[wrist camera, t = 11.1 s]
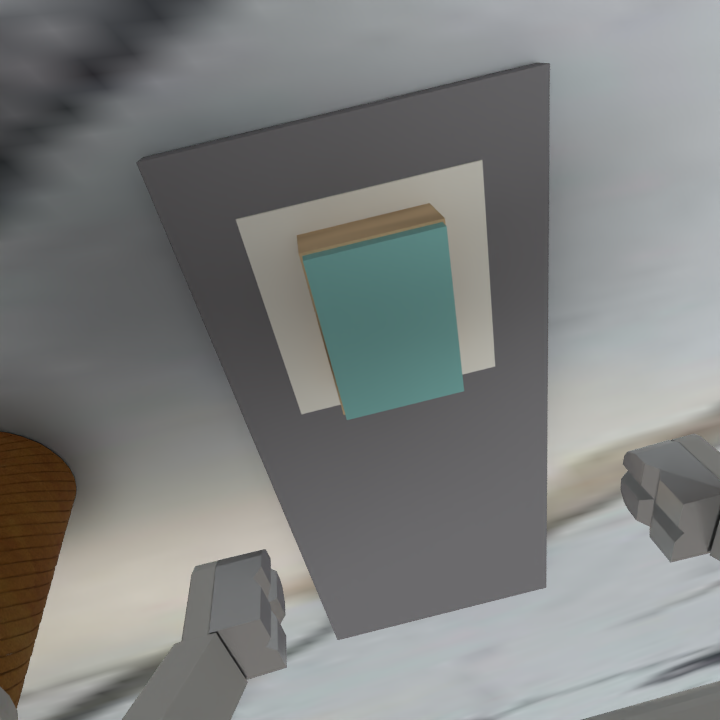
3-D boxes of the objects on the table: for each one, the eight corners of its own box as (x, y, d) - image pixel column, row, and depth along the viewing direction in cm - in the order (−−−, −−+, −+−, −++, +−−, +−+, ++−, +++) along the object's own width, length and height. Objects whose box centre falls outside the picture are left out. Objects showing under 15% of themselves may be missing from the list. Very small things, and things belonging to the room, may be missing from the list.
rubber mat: (336, 625, 33) (337, 641, 32) (143, 157, 17) (135, 163, 16) (539, 573, 33) (546, 588, 32) (536, 62, 17) (550, 63, 16)
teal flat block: (296, 235, 18) (299, 258, 16) (429, 202, 18) (449, 222, 16) (338, 387, 22) (345, 422, 20) (448, 360, 22) (466, 392, 20)
